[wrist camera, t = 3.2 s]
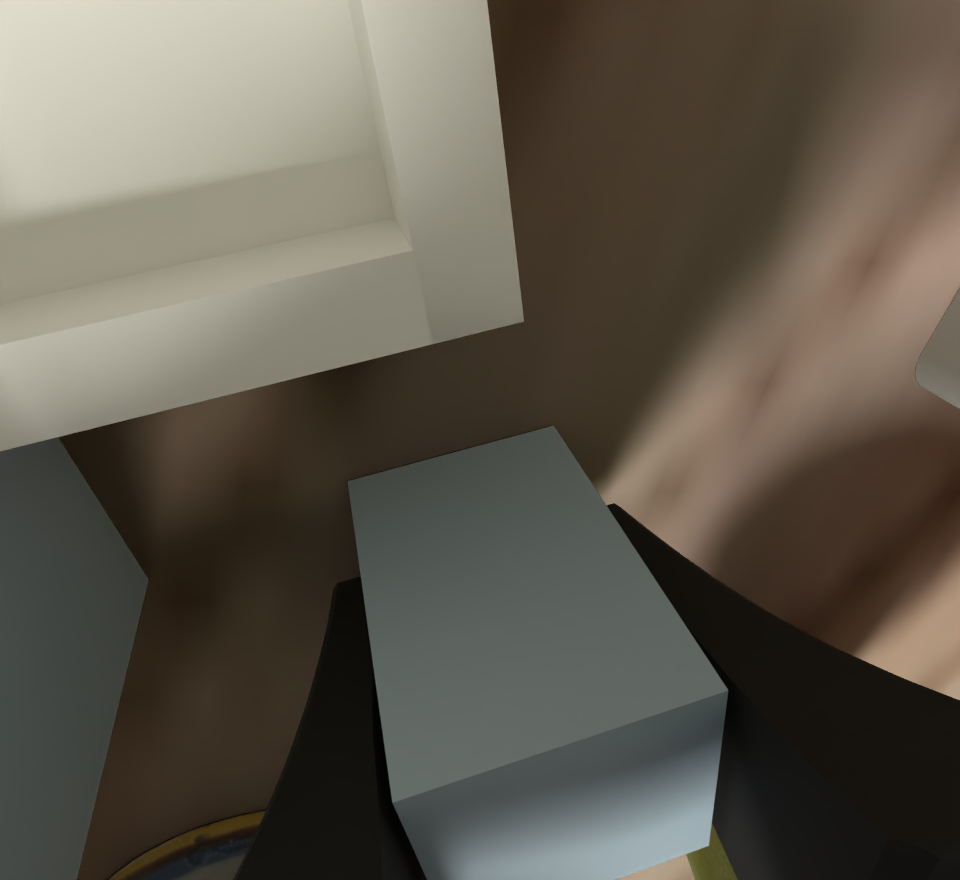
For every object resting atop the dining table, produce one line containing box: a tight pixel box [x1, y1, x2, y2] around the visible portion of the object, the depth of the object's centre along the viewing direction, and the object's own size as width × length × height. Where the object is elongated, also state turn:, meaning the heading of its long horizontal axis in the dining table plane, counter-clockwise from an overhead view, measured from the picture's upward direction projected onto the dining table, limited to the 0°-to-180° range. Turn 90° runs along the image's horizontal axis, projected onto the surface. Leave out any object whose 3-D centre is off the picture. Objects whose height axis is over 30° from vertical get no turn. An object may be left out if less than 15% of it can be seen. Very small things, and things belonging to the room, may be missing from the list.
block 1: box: [348, 426, 728, 880], centre depth 11 cm, size 4×4×6 cm
